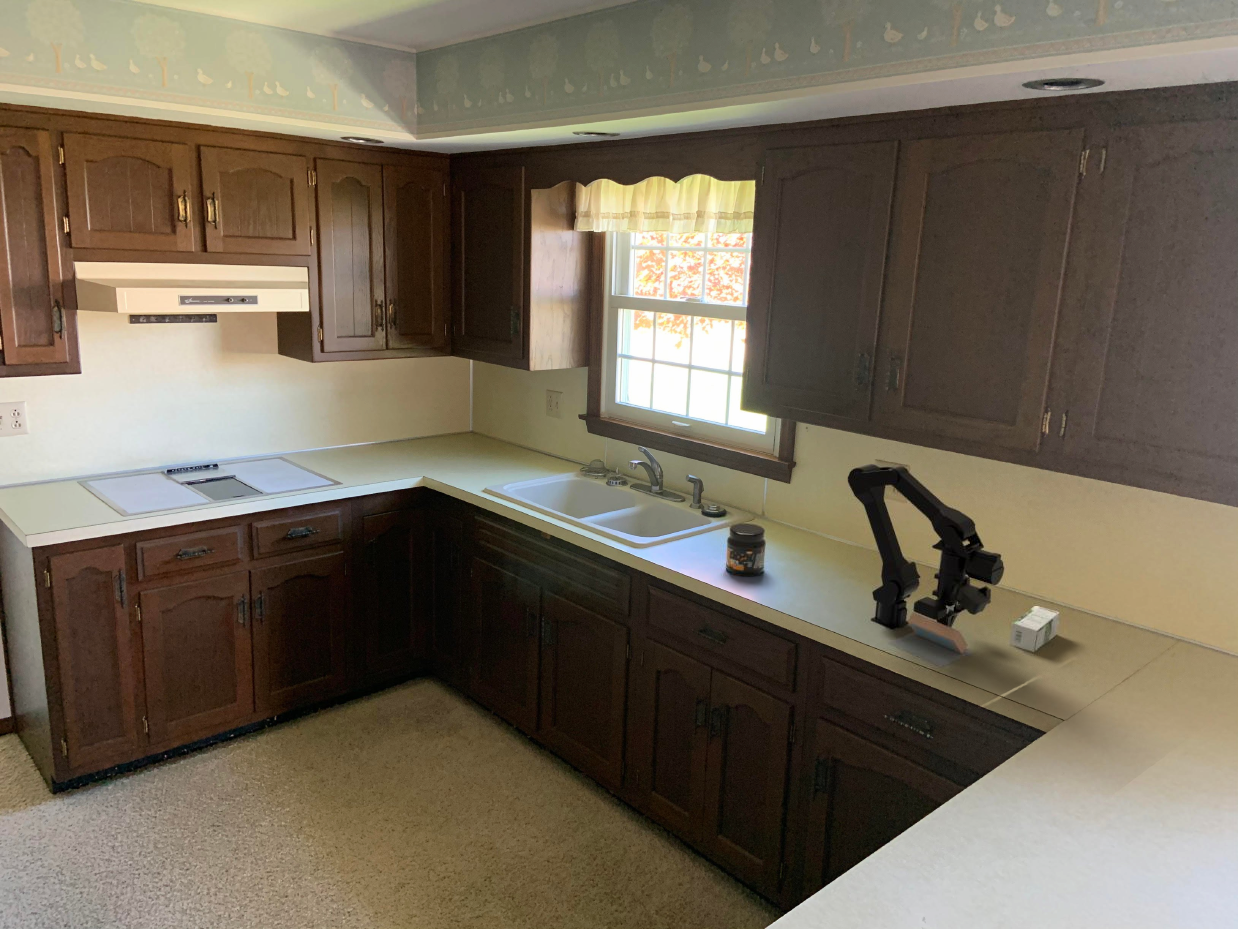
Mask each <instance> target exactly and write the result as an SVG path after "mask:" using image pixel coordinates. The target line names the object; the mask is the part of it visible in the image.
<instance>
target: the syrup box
mask: <svg viewBox="0 0 1238 929" xmlns="http://www.w3.org/2000/svg"><path fill="white" fill-rule="evenodd" d="M1059 619H1060V612H1059V611H1057V610H1053V609H1050V608H1047V607H1042V606H1038V605H1035V606H1033V607H1032V608H1030V609H1029V610H1028V611H1026V612H1025V613H1024V614H1023V615H1021V616H1020V617H1019V618H1017V619H1016V620H1015V621H1012V622H1011V631H1010V638H1009V646H1014V647H1016V648H1020V649H1023V650H1025V651H1028V652H1032V653H1036V652H1037V651H1038V650H1039V649H1041V647H1043V646H1044V645H1045V644H1047V643H1048V642H1049V641H1051V640H1052V639H1053V638H1054V637H1055V636H1057V634H1058V628H1059Z"/></svg>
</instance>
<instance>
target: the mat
mask: <svg viewBox="0 0 1238 929" xmlns="http://www.w3.org/2000/svg"><path fill="white" fill-rule="evenodd" d="M887 643H888V644H889V645H891V646H893V647H896V648H897V649H899V650H900V649H901V650H902V651H905V652H907V653H909V654H911V655H913V656H916V657H918V658H920V659H922V660H924V661H927V662H928V663H931V664H933V665H936V666H937V667H940V668H942V667H945V666H947V665H949V664H952V663H954V662H956V661H958V660H960V659H963V658H964V657H968V656H969V655H971V654H973V652H972V651H970V650H968V649H966V648H965V650H964V652H963V653H962V654H961V653H958V652H956V651H954V650H951V649H949V648H947V647H944V646H942V645H940V644H937V643H935V642H933V641H930V640H928V639H926V638H923V637H921V636H919V635H916V634H915V632H914V631H913V632H911V633H908V634H906V635H903V636H901V637H898V638H896V639H893V640H890V641H888V642H887Z"/></svg>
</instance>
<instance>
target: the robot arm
mask: <svg viewBox="0 0 1238 929" xmlns="http://www.w3.org/2000/svg"><path fill="white" fill-rule="evenodd" d="M847 484H848V486H849V487H850V490H851V492H852V494H853V496H854V497H855V498H856V499H857V501H859V503H861V504H862V505H863V507H864V510H865V514H866V516H867V519H868V522H869V523H868V524H869V525H870V528H871V531H872V534H873V538H874V541H875V544H876V547H877V550H878V552H879V555H880V558H881V562H882V564H881V565H882V566H881V575H880V578H881V583H882V585H880V586H879V587H878V588H876V589H875V590H873V591H872V592H871V593H872V598H873V601H875V602H876V603H875V612H874V613H875V614H874V617H871V618H870V621H872V622H873V623H876V624H879V625H880V626H882V627H885V628H888V629H889V630H895V629H898V628H900V627H902V626H905V625H907V624H909V623H908V620H907V616H908V608H907V600H906V599H908V598H911V596H912V594H913V593H915V592H916V591H917V590H918V588H919V586H920V578H921V576H920V574H919V572H918V570H917V565H916V562H915V561H911V562H909V561H908V560H907V559H906V558H905V557H904V555H903V552H902V549H901V545H900V543H899V540H898V537H897V534H896V531H895V528H894V526H893V522H892V519H891V516H890V514H889V510H888V508H887V504H886V501H885V492H886V486H892V487H893V488H894V489H895V490H896V491H897V492H898V493H900V494H901V495H902V496H903V497H904V498H905V499H906V500H907V501H908V502H909V503H911V504H912V506H914V507H915V508H916V509H917V510H918V511H920V513H922V515H924V516H925V517H926V518H927V519H928V521H930V523H931V526H932V528H933V531H934V533H935V534H936V535H937V536H938V537H939V538H940V540H939V541H937V542H936V543H935V544H932V545H931V547H932V549H934V550H938V551H940V561H939V567H938V572H936V573H934V577H933V578H934V579H936V580H937V584H936V588H935V589H934V590H932V592H931V593H932V594H931V595H932V596H934V597H936V599H934V598H931V597H929V596H925V597H922V598H921V599H918V600H916V601H914V604H913V612H914V613H916V614H919V615H921V616H923V617H926V618H928V619H931V620H933V621H936V622H938V623H941V624H943V625H945V626H948V627H950V628H952V627H953V625H954V623H955V621H956V619H957V617H958V616H959V614H961V613H962V612H964V611H967V612H968V613H969V614H971V615H974V616H975V615H977V614H978V613H981V612H983V611H984V610H985V608H986V606H987V605H989V604H991V603H992V600H991V598H992V589H991V588H989V587H988V586H987V585H985V586H982V587H978V586H974V585H972V584H971V579H974V581H975V580H976V581H979V582H982V583H985V584H988V585H992V586H997V585H999V583H1000V581H1001V580H1002V578H1003V577H1004V576H1003V575H1004V573H1005V566H1004V561H1003V560H1002V554H1001V553H997V552H990V551H988V550H984V548H985V546H984V544H983V542H982V540H981V538H980V536H979V534H978V532H977V529H976V523H975V522H974V520H973V519H972V518H971V517H970V516H968V515H967V514H965V513H963V512H962V511H960V510H959V509H956V508H953V507H949V506H948V505H946V504H945V503H944V502H942V500H940V499H939V498H938V497H937V496H936V495H934V493H933V492H931V491H930V490H929V489H928V488H927V487H925V485H923V483H921V481H919V480H918V479H917V478H916V477H914V475H913V474H911V473H910V472H909V470H908V468H907V467H905V466H901V465H898V466H878V465H876V464H874V463H870V464H865V465H862V466H859V467H858V466H857V467H855V468H853V469H851V470H850V472H849V474H848V475H847ZM966 542H969V543H967V544H964V543H966Z"/></svg>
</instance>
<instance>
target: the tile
mask: <svg viewBox="0 0 1238 929" xmlns="http://www.w3.org/2000/svg"><path fill="white" fill-rule="evenodd" d="M907 621H908V624H909V626H910V628H911V629H912V631H913V632H915V634H916V635H919V636H921V637H923V638H926V639H928V640H930V641H933V642H935V643H937V644H940V645H942V646H944V647H947V648H949V649H951V650H954V651H956V652H958V653H961V654H962V653H963V652H964V650H965V649H966V648H967V647H968V643H967V642H966V640H965V638H964V636H963V634H962V633H961V631H960V630H957V629H954V628H952V627H951V628H950V627H948V626H945V625H943V624H941V623H938V622H937V621H936V620H934V619H931V618H929V617H926V616H924V615H921V614H919V613H916V612H914V611H913V612H912V613H911V615H910V616H909V617H908V619H907Z"/></svg>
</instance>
